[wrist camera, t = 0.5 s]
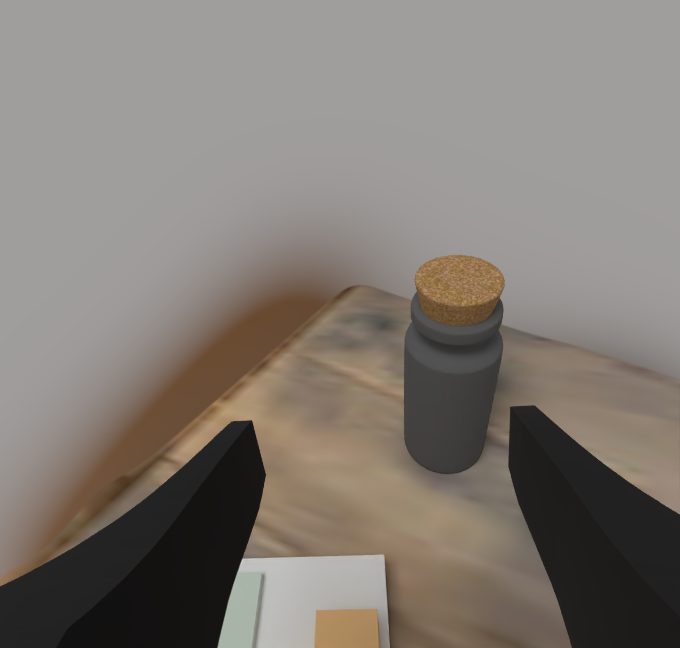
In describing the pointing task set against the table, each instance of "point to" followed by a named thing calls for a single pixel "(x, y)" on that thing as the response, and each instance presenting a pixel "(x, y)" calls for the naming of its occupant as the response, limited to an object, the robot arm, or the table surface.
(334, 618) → the slider
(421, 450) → the bottle
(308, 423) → the table surface
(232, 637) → the cover
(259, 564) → the white layered base plate
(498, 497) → the table surface
